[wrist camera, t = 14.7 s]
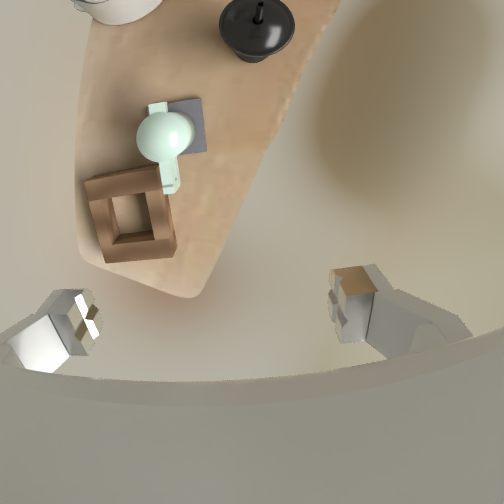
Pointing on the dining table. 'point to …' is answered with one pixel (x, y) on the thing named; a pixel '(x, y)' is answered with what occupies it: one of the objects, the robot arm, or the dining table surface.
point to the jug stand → (105, 222)
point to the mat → (195, 112)
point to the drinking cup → (256, 28)
